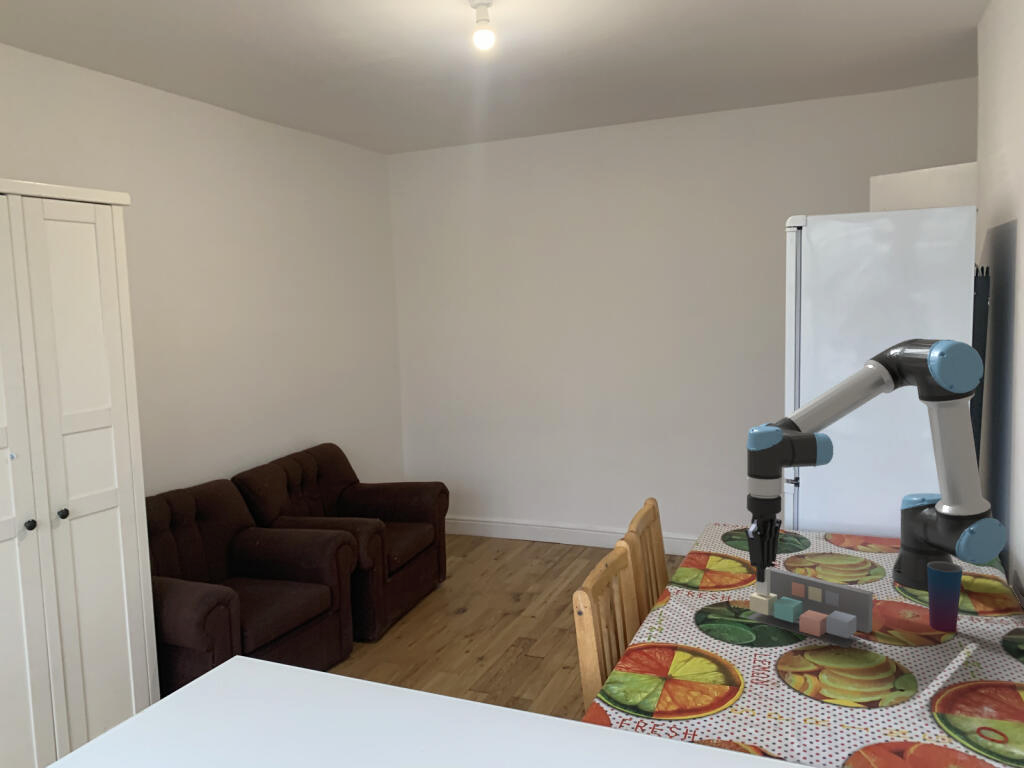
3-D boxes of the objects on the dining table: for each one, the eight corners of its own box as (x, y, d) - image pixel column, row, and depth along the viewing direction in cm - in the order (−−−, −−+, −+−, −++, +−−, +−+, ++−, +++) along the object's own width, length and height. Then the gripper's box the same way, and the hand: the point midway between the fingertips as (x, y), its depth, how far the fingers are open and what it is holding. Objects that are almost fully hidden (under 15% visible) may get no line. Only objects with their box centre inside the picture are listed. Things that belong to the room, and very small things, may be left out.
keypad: (771, 606, 186) (771, 566, 185) (872, 635, 169) (873, 591, 168) (737, 626, 175) (737, 584, 174) (842, 659, 158) (843, 613, 157)
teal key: (783, 611, 176) (783, 596, 175) (802, 616, 172) (802, 601, 172) (773, 617, 173) (774, 602, 172) (793, 622, 169) (793, 607, 169)
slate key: (835, 625, 167) (835, 610, 167) (856, 631, 164) (856, 616, 163) (826, 632, 164) (826, 616, 164) (847, 638, 161) (847, 622, 160)
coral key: (808, 624, 172) (808, 609, 171) (828, 630, 168) (828, 615, 168) (799, 631, 168) (799, 615, 168) (819, 637, 165) (819, 621, 165)
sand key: (759, 604, 180) (759, 590, 180) (777, 609, 177) (777, 594, 176) (749, 610, 177) (749, 595, 177) (767, 615, 174) (767, 600, 173)
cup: (965, 639, 165) (967, 572, 164) (931, 637, 167) (933, 571, 165) (953, 626, 172) (955, 561, 170) (921, 624, 173) (922, 560, 172)
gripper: (762, 486, 181) (761, 582, 184) (734, 497, 172) (733, 597, 175) (793, 491, 176) (791, 590, 178) (765, 502, 167) (764, 606, 169)
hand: (763, 594), depth 176 cm, fingers closed
